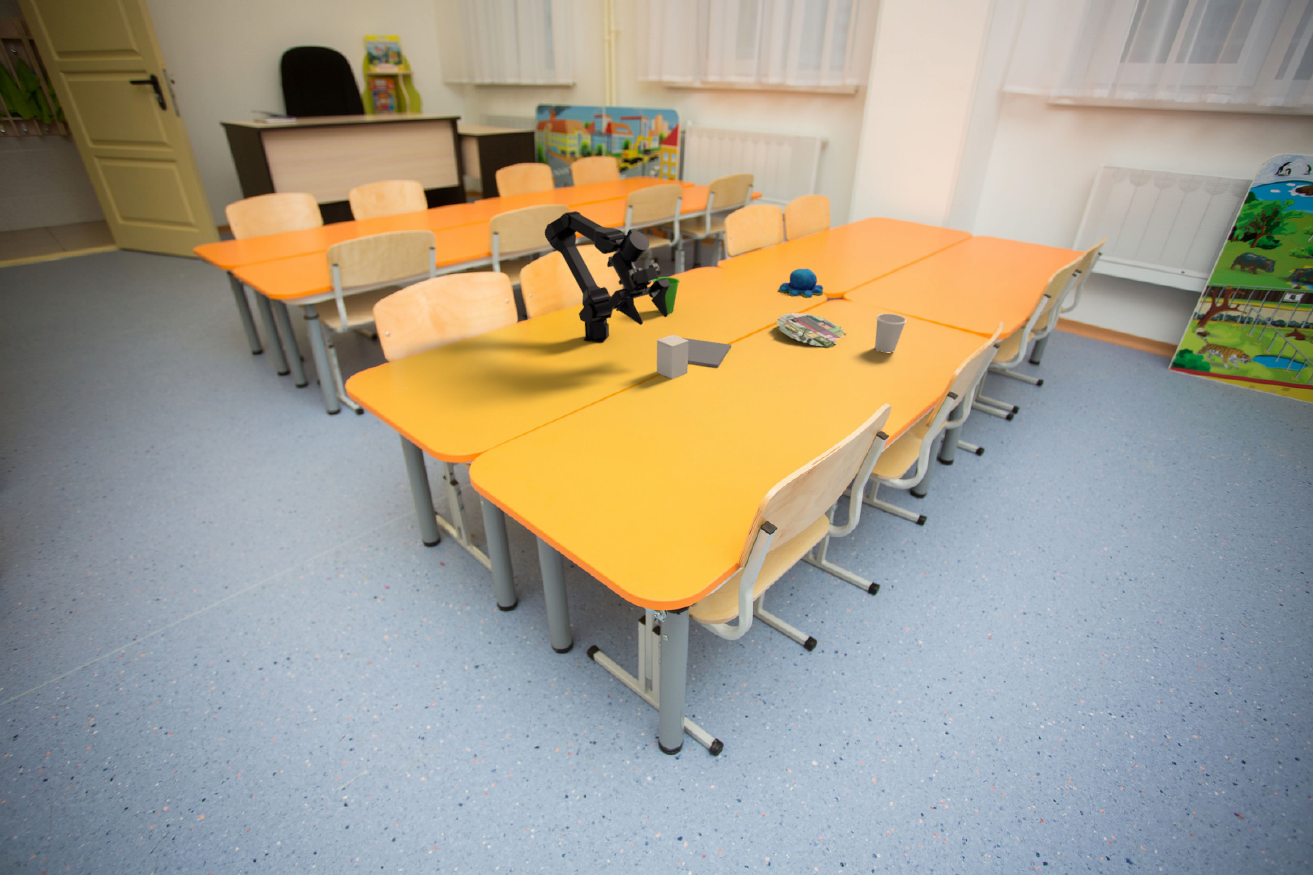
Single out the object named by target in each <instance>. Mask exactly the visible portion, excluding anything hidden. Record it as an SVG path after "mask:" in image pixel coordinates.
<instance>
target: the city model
mask: <svg viewBox="0 0 1313 875" xmlns="http://www.w3.org/2000/svg"><path fill="white" fill-rule="evenodd" d="M776 323H777V325H778V330H779V331H780V332H782V333H784V334H785V335H786V336H788V337H789V338H791V339H795V340H796V341H798V342H802V343H803V344H809V345H810V346H811V345H812V346H816V347H817V346H819V347H823V348H825V347H827V348H831V347H830V346H832V347H833V346H836V345H837V343H836V340H835V338H841V337H842V335H843V334H846V335H847V333H846V332H845V331H844V329H843V328H842V327H841V326H839V325H837V324H835V323H833V322H832V321H830V320H829V319H827V318H825V317H820V316H818V315H813V314H808V313H797V312H794V313H792V312H791V313H786V314H783V315H780V317H778V318H777V319H776ZM841 334H842V335H841ZM835 343H836V344H835ZM834 344H835V345H834Z"/></svg>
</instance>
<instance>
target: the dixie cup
mask: <svg viewBox="0 0 1313 875" xmlns="http://www.w3.org/2000/svg"><path fill="white" fill-rule="evenodd" d="M906 323H907V319H906V318H905V317H904V316H902V315H899V314H895V313H894V314H893V313H881V314H880V313H879V314H878V315H876V329H875V330H876V331H875V341H874V342H875V343H874V350H875V349H876V350H877V351H876V350H875V351H876V352H878V351H882V352H893V351H894V352H895V351H896V348H897V345H898V342H899V339H900V338H901V335H902V332H903V330H904V327H905V325H906ZM894 352H893V353H894Z"/></svg>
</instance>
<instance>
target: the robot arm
mask: <svg viewBox="0 0 1313 875" xmlns="http://www.w3.org/2000/svg"><path fill="white" fill-rule="evenodd" d="M576 233H578V234H580V235H582V236H584V237H585V238H587V239H588V240H590V241H591V242H593V245H594V247H595V248H596V249H597V250H598V251H599V252H600V253H601V254H604V255H607V254H613V255H612V256H611V255H610V256H608V258H607V259H608V261H607V264H606V265H607V266H606V267H607V268H612V267H613V268H614V271H615V272H616V274H617V275H618V278H619V280H618V285H620V286H621V285H623V287H624V288H622V289H618V290H615V291H614V292H613V294H612V295H610V293H609V291H608V288H607V287H606V286H602V287H600V286H598V284H597V283H596V281H595V279H594V277H593V276H592V273H591V272H590V269H589V268H588V266H587V264H586V262H585V260H584V258H583V257H582V254H581V253H580V251H579V249H578V247H577V245H576V242H577V235H576ZM544 236H545V238H546V240H547V241H548V243H549V244H550V246H551V248H553V249H554V250H556V251H557V252H559V253H560V254H561V255H562V257H563V259H564V261H565V263H566V264H567V267H568V269H569V270H570V272H571V274H572V276H573V278H574V280H575V282H576V284H577V285H578V287H579V289H580V291H581V293H582V307H583V308H582V309H580V312H578V316H579V319H580V321H582V322H584V338H583V341H586V342H587V341H588V342H596V343H604V342H605V341H606V340H607V339H608V338H609V337H610V324H609V323H608V319H611V318H612V316H613V315H612V314H613V311H614V310H616V312H620V313H621V314H624V315H625V316H626V317H628V318H630V319H632V321H634V322H635V323H637V324H639V325H640V326H641V325H643V323H644V322H643V319H642V317H641V315H640V313H639V312H638V309H637V308H636V305H635V299H637V298H641V297H644V296H649V297H650V298H652V299H651V302H652V303H653V305H654V306H655V308H656V309H657V310H659V311H660V312H661V313H660V314H661V315H662V316H663V317H664V318H667V317H668V315H669V314H668V313H667V307H666V300H665V295H666V292H667V291H668V288H669V287H670V286H671V285H670V283H669V281H668V280H667V279H660V280H656V281H655V282H653V283H652V281H653V280H654V279H658V278H659V276H660V275H661V274H662V270H661V268H660V266H659V264H658V263H652V264H650V265H648V267H647V268H644V269H643V268H642V267H638V266H637V264H636V262H638V261H639V260H640V259H641V258H642V257H643V255H644V254H645V252H646V251H647V250H648V249H649V248H650V240H649V239H648V237H647V236H646V235H644V234H643V233H641V232H639V231H638V230H637V229H636V228H632V229H631V228H630V229H628V231H627V233H626V234H624V232H623V231H622V230H621V229H618V228H614V227H608V226H607V227H606V226H602V225H600V223H599V224H598V223H597V222H595V221H593V220H591V219H589V218H587V217H586V216H584V215H582V214H581V213H580V212H579V211H577V210H576V211H568V212H565V213H563V214H562V215H560V217H559V218H556V219H555V220H554V221H552V222H550V223H548V224H546V227H545V228H544ZM649 285H650V286H649ZM659 311H658V312H659Z"/></svg>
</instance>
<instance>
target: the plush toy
mask: <svg viewBox="0 0 1313 875" xmlns="http://www.w3.org/2000/svg"><path fill="white" fill-rule="evenodd" d="M817 282H818V279H817V275H816V273H814V272H813V270H811V269H809V268H798V269H794V270H792V272H791V273H790V275H789V282H782V283H781V284H780V285H779V288H778V292H780V293H787V292H788V295H789V296H791V297H798V296H800V295H801V296H802V297H804V298H807V299H810V298H812V297H813V295H820V296H822V295H823V293H824V291H823V290H824V287H823V286H822V285H821V284H817Z"/></svg>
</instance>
